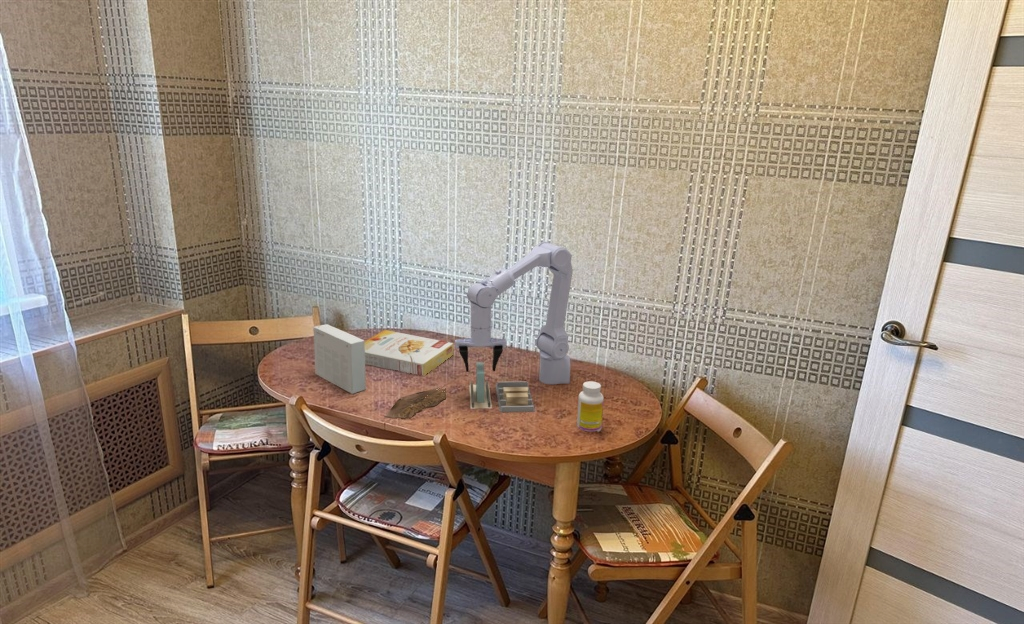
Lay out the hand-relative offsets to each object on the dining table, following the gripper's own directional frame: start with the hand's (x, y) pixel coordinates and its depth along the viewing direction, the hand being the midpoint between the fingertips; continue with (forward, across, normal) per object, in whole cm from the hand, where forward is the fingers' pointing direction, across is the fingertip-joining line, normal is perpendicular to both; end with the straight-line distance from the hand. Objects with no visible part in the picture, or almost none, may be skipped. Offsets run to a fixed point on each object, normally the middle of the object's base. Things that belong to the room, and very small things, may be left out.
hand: (480, 370), depth 180 cm
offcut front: (+8, -10, +8) cm, 15 cm away
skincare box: (+9, +43, -14) cm, 46 cm away
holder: (+9, 0, 0) cm, 9 cm away
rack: (+9, -10, +1) cm, 14 cm away
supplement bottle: (+10, -28, +19) cm, 35 cm away
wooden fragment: (+10, +18, +1) cm, 20 cm away
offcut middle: (+8, -10, +4) cm, 13 cm away
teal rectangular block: (+8, 0, 0) cm, 8 cm away
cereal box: (+10, +25, -32) cm, 42 cm away
